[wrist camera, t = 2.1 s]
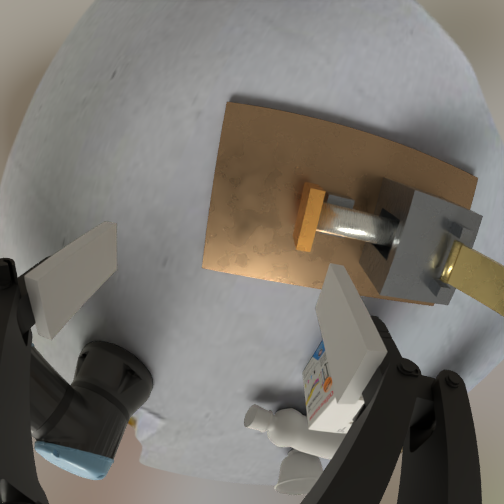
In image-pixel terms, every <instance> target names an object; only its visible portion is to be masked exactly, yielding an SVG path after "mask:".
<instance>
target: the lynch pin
mask: <svg viewBox="0 0 504 504" xmlns="http://www.w3.org/2000/svg"><path fill="white" fill-rule="evenodd" d="M325 192H326V191H325V190H323V189H322V188H321V187H320V186H319V185H318V184H313V183H309V182H305V184H304V188H303V193H302V197H301V202H300V206H299V210H298V215H297V219H296V223H295V228H294V232H293V240H294V243H295V247H296V250H300V251H306V252H310V251H311V248H312V244H313V240H314V236H315V232H316V231H320V232H324V233H329V234H334V235H339V236H343V237H348V238H353V239H357V240H362V241H366V242H371V243H375V244H380V245H384V246H389V247H392V244H393V241H394V238H395V235H396V232H397V229H398V226H399V222H400V221H397V220H393V219H390V218H386V217H382V216H378V215H374V214H371V213H367V212H363V211H359V210H354V209H350V208H346V207H342V206H338V205H333V204H329V203H325V202H323V200H324V196H325Z"/></svg>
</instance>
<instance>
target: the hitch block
mask: <svg viewBox="0 0 504 504" xmlns="http://www.w3.org/2000/svg"><path fill="white" fill-rule="evenodd" d="M477 181H478V178H477V177H475V176H473V175H471V174H469V173H467V172H465V171H463V170H461V169H459V168H457V167H454V166H452V165H450V164H448V163H446V162H443V161H441V160H439V159H437V158H434V157H432V156H430V155H427V154H425V153H422V152H420V151H417V150H415V149H412V148H410V147H407V146H404V145H402V144H399V143H396V142H393V141H391V140H388V139H385V138H382V137H379V136H376V135H373V134H370V133H367V132H363V131H360V130H357V129H354V128H350V127H347V126H343V125H340V124H336V123H332V122H329V121H325V120H321V119H317V118H313V117H308V116H304V115H300V114H295V113H290V112H286V111H281V110H275V109H270V108H265V107H259V106H253V105H246V104H240V103H232V102H227V104H226V110H225V115H224V121H223V126H222V132H221V138H220V143H219V149H218V155H217V162H216V168H215V174H214V181H213V188H212V194H211V201H210V208H209V216H208V223H207V231H206V239H205V247H204V255H203V264H202V268H204V269H210V270H215V271H220V272H226V273H231V274H236V275H242V276H247V277H253V278H258V279H264V280H270V281H275V282H281V283H287V284H293V285H299V286H305V287H311V288H317V289H322V286H323V283H324V280H325V277H326V274H327V271H328V268H329V264H330V263H332V264H337V265H343V266H344V267H345V269H346V271H347V273H348V275H349V276H350V278H351V280H352V282H353V284H354V286H355V288H356V289H357V291H358V293H359V295H360V296H367V297H374V298H380V299H387V300H394V301H401V302H408V303H415V304H422V305H429V306H433V305H434V303H436V304H444V305H448V304H449V302H450V300H451V298H452V296H453V294H454V292H455V289H456V288H455V287H453V286H451V285H450V284H446V283H444V282H442V281H441V280H440V279H439V278H440V276H441V273H442V271H443V269H444V266H445V263H446V261H447V258H448V256H449V253H450V250H451V247H452V245H453V242H454V239H455V240H458V241H460V242H462V243H464V245H466V246H468V247H470V248H472V247H473V244H474V242H475V239H476V236H477V233H478V230H479V227H480V223H481V220H482V217H483V216H481V215H479V214H477V213H475V212H473V211H471V210H470V208H471V204H472V201H473V197H474V193H475V189H476V185H477ZM305 182H309V183H313V184H318V185H319V186H320V187H321V188H322V189H323V190H325V191H326V192H325V196H324V200H323V202H325V203H329V204H333V205H338V206H342V207H346V208H350V209H354V210H359V211H363V212H367V213H371V214H374V215H378V216H382V217H386V218H390V219H393V220H397V221H400V222H399V226H398V229H397V232H396V235H395V238H394V241H393V244H392V247H389V246H384V245H380V244H375V243H371V242H366V241H362V240H357V239H353V238H348V237H343V236H339V235H334V234H329V233H324V232H320V231H316V232H315V236H314V240H313V244H312V248H311V251H310V252H306V251H300V250H296V247H295V243H294V240H293V232H294V228H295V223H296V219H297V215H298V210H299V206H300V202H301V197H302V193H303V188H304V184H305Z"/></svg>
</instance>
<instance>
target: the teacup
mask: <svg viewBox="0 0 504 504" xmlns="http://www.w3.org/2000/svg"><path fill="white" fill-rule="evenodd" d="M322 473H323V469H322V465H321V462H320V459H319V458H318V457H317V456H315V455H311V454H307V453H304V452H301V451H298V450H296V449H293V450H291V451H290V452H289V453H288V456H287V457H286V458H285V459H284V460H283V461H282V463H281V467H280V473H279V479H278V483H277V485H276V486H275V488H274V489H275V490H276V491H277V492H279V493H282V494H289V495H301V494H308V493H309V491H310V490H311V489H312V487H313V486H314V484H315V483H316V482H317V480H318V479H319V477H320V476H321V474H322Z"/></svg>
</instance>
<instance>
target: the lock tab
mask: <svg viewBox="0 0 504 504" xmlns="http://www.w3.org/2000/svg"><path fill="white" fill-rule="evenodd" d="M439 279H440V280H441V281H442V282H444V283H446V284H450V285H451V286H453V287H455V288H457V289H458V290H460V291H462V292H464V293H465V294H467V295H469V296H471V297H472V298H474V299H476V300H477V301H479V302H481V303H482V304H484V305H486V306H487V307H489V308H491V309H492V310H494V311H496V312H497V313H499V314H500V315H502V316H504V266H503V265H502V264H500V263H498V262H496V261H494V260H493V259H491V258H489V257H487V256H485V255H483V254H481V253H480V252H478V251H476V250H474V249H472V248H470V247H468V246H466V245H464V243H462V242H460V241H458V240H455V239H454V242H453V245H452V247H451V250H450V253H449V256H448V258H447V261H446V263H445V266H444V269H443V271H442V273H441V276H440V278H439Z"/></svg>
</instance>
